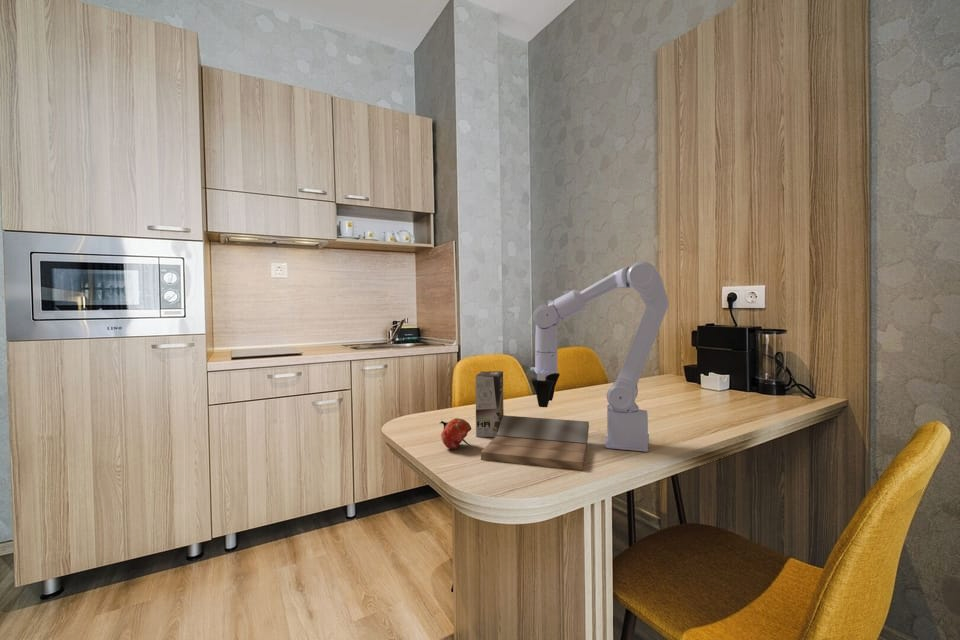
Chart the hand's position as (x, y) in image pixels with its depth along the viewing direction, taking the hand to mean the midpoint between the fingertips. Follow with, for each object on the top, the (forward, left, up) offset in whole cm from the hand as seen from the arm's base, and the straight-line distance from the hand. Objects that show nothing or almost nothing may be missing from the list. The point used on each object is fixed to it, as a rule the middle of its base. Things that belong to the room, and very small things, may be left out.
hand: (545, 403), depth 111 cm
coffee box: (+15, +1, -9) cm, 17 cm away
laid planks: (0, +15, -9) cm, 17 cm away
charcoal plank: (0, +5, -6) cm, 8 cm away
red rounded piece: (+19, +15, -9) cm, 26 cm away
